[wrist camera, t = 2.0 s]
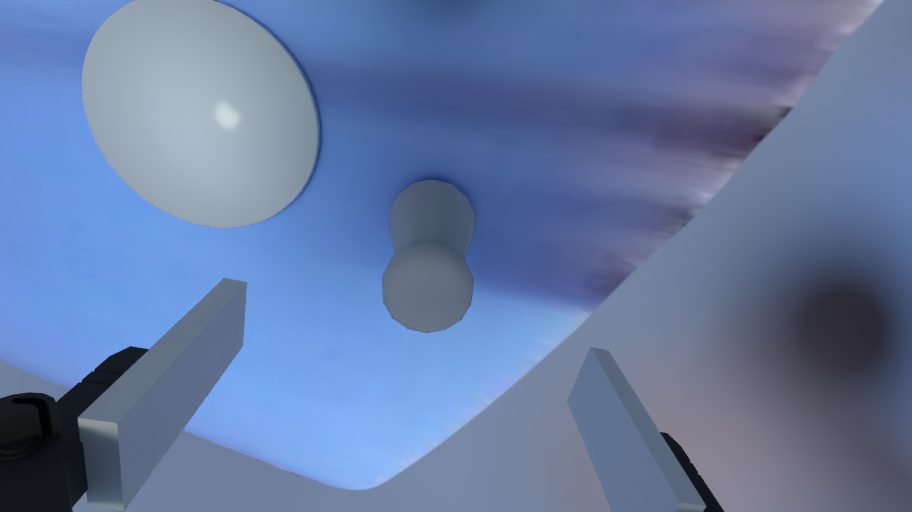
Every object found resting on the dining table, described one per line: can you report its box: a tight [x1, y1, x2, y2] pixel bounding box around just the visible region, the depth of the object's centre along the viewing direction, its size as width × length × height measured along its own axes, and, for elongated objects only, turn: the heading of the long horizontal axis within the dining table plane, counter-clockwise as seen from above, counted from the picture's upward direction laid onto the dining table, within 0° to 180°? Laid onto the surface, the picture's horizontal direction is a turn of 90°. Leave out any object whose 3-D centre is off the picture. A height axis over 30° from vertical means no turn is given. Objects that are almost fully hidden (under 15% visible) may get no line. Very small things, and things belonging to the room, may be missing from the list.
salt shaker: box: [382, 179, 475, 333], centre depth 25 cm, size 6×6×13 cm
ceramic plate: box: [82, 0, 321, 228], centre depth 27 cm, size 14×14×1 cm
